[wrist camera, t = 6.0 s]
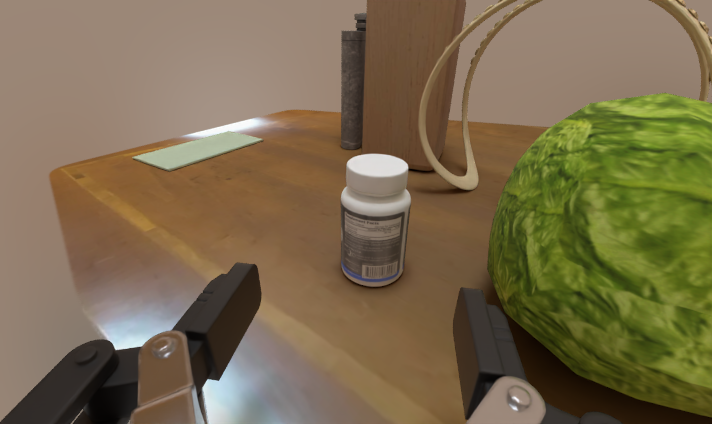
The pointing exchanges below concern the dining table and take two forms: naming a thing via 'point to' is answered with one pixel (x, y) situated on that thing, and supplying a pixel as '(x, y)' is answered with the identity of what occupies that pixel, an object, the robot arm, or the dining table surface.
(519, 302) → the lettuce
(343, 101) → the flask
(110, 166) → the dining table surface
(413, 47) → the wooden block
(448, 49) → the octopus tentacle
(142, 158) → the edge mat
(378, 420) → the dining table surface
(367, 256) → the pill bottle
